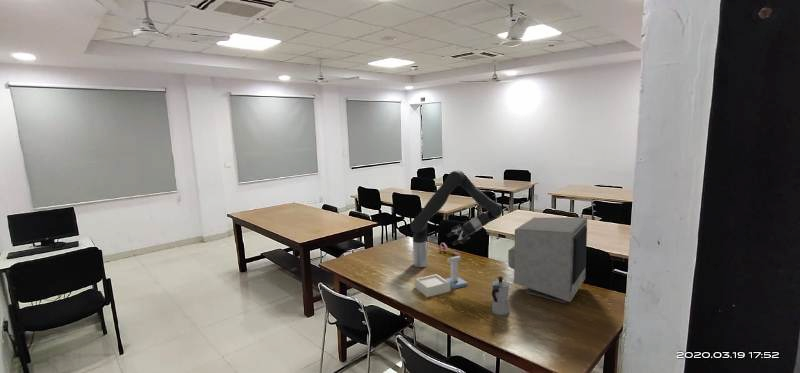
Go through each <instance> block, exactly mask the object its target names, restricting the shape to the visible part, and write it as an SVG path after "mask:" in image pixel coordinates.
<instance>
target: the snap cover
mask: <svg viewBox="0 0 800 373" xmlns="http://www.w3.org/2000/svg"><path fill="white" fill-rule="evenodd" d="M461 259H462V257H461V256H460V255H459V256H457V255H456V256H451V257H448V258H446V260H447V263H450V277H447V278H444V279H445V280H446V281H448V282H449V283H450V290H455V289H460V288H462V287H467V286H468V281H466V280H464V279H463V278H461V277H460V276H459V273H458V272H459V271H458V270H459V268H458V265H459V264H458V262H459V261H461Z"/></svg>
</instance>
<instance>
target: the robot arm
mask: <svg viewBox="0 0 800 373" xmlns="http://www.w3.org/2000/svg"><path fill="white" fill-rule="evenodd" d="M458 186H459V187H462V189H464V190H465V191H466V193H468V194H469V196H470V197H471V198H472V200H473V201H475V202H476V203H477V204H478V205H479V206H480V207H481V208H484V209H486V210H487V211H485V212H482V213H479V214H478V215H476V216H475V217H473V218H471V219H470V220H468V221H467V222H465V223H464V224H463V225H462V226H461V224H457V225H455V226H453V227H452V228H451V229H450V230H451V231H450V232H449V233H447V234H446V236H447V238H450V237H452V236H454V235H458V238H457V239H456V240H455V241H452V245H453V246H456V245H459V244H461V245H464V244H465V243H467V241H469V240H470V239H471V237H470V236H471V235H473V234H474V233H475V232H478V231H479V230H481V229H482V228H483V227H485V226H486V225H488V224H489V223H491V222H492V221H494V220H495V221H496V219H498V218H500V217H501V215H502V213H503V208H502V206H501V205H500V204H499V203H497V202H496V201H494V200H492V199H490V197H489V196H488V195H486V194H485V193H484V192H483V191H482V190H480V189H479V188H478V187H477V186H476V185H475V184H474V183H473V182H472V181H471V180H470V179H469V177H468V176H467V175H466V174H465V173H464V172H463V171H461V170H459V169H458V170H453V171H451V172H449V174H448V176H447V177H446V178H445V180H444V181H443V183H442V185H441V186H440V187H439V188H438V189H437V190H436V191H435V193H434V194H433V195H432V196H431V197H430V199H429V200H428V201H427V203H426V204H425V205H424V207H423V209H422V210H421V211H420V212H419V214H417V215H416V217H415V218H414V219H413V220H412V221H411V222H410V229H411V231H412V232H413V233H414V234H413V236H412V248H413V249H412V250H413V251H412V254H413V255H412V256H413V257H412V258H413V260H412V261H413V266H414V267H416V268H425V267H427V266H428V251H427V250H428V249H427V246H428V245H427V244H428V243H427V238H428V221H430V220H431V219H432V218H433V217H434V216H435V215H436V214H437V213H438V212H439V211H440V210H441V209H442V208H443V207H444V205H445V204H446V203H447V201H448V198H449V196H450V194H451V193H453V191H454V190H455V189H456V188H457V187H458Z"/></svg>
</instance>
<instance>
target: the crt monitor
mask: <svg viewBox="0 0 800 373" xmlns="http://www.w3.org/2000/svg"><path fill="white" fill-rule="evenodd" d="M587 237H588V217H532V218H531V219H529V220H527V221H526V222H525V223H523V224H522V225H520V226H518V227H517V228H515V229H514V246H512V247H511V248H509V249H508V251H507V252H508V253H507V255H508V256H507V258H508V259H507V262H508V263H507V264H508V266H509V268H510V269H513V284H516V285H519V286H522V287H525V288H527V289H526V290H525V291H524V293H525V294H528V295H534V296H538V297H540V298H544V299H548V300H551V301H555V302H560V303H564V304H565V303H566V302H568V303H569V302H572V300H573V298H574V297H575V295H576V294H577V292H578V290H579V289H580V287H581V286H582V285H583V283H584V281H585V280H586V267H587V266H586V265H587V241H588V240H587V239H588V238H587Z"/></svg>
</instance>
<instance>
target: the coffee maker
mask: <svg viewBox="0 0 800 373" xmlns="http://www.w3.org/2000/svg"><path fill="white" fill-rule="evenodd" d="M497 278H498V280H494V281H492V283H491V286H492V291H491V296H492V298H493V299H492V300H493V301H492V307H491V311H492V313H493V314H494V315H497V316H508V315H509V313H510V311H511V310H510V306H509V301H508V298H509V297H508V296H509V289H510V282H507V280H504V279H503V276H501V275H500V276H497Z"/></svg>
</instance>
